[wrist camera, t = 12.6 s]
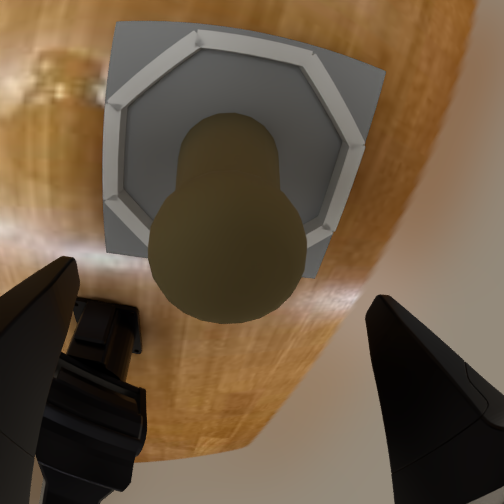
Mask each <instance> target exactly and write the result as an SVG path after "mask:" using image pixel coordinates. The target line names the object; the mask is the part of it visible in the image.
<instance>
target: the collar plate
mask: <svg viewBox="0 0 504 504" xmlns="http://www.w3.org/2000/svg"><path fill="white" fill-rule="evenodd" d="M385 74H386V71H384V70H381V69H379V68H377V67H374V66H372V65H369V64H367V63H364V62H361V61H359V60H356V59H353V58H350V57H348V56H345V55H342V54H339V53H336V52H333V51H330V50H327V49H323V48H320V47H317V46H313V45H310V44H306V43H303V42H299V41H295V40H291V39H287V38H283V37H279V36H274V35H270V34H265V33H260V32H255V31H249V30H243V29H237V28H231V27H224V26H216V25H207V24H197V23H185V22H167V21H120V22H116V27H115V32H114V38H113V44H112V50H111V56H110V63H109V71H108V79H107V88H106V99H105V111H104V128H103V158H102V183H103V214H104V230H105V243H106V253H113V254H121V255H128V256H135V257H142V258H148V242H149V234H150V227H151V225H152V223H153V220H154V218H155V216H156V215H157V213H158V211H159V209H160V208H161V206H162V204H163V202H164V201H165V199H166V198H167V197H168V196H169V195H170V194H172V193H173V192H174V191H175V187H176V175H177V164H178V156H179V151H180V147H181V143H182V141H183V140H184V138H185V136H186V135H187V133H188V132H189V130H190V129H191V128H192V127H194V126H195V125H196V124H197V123H198V122H200V121H201V120H202V119H204V118H207V117H210V116H212V115H215V114H218V113H238V114H242V115H245V116H249V117H252V118H253V119H255V120H256V121H258V122H259V123H261V124H262V125H264V126H265V128H266V129H267V130H268V131H269V133H270V134H271V135H272V137H273V138H274V141H275V144H276V147H277V150H278V155H279V173H280V190H281V191H282V192H283V193H284V194H285V195H286V196H287V198H288V199H289V200H290V202H291V203H292V204H293V206H294V207H295V208H296V210H297V211H298V213H299V215H300V218H301V220H302V223H303V227H304V231H305V234H306V238H307V254H306V263H305V271H304V273H303V275H302V277H305V278H314V279H315V277H316V274H317V272H318V269H319V267H320V265H321V262H322V260H323V257H324V255H325V252H326V250H327V247H328V245H329V242H330V239H331V237H332V234H333V232H334V231H336V228H337V225H338V223H339V220H340V218H341V215H342V212H343V210H344V207H345V204H346V201H347V199H348V196H349V193H350V190H351V188H352V185H353V182H354V179H355V176H356V173H357V170H358V168H359V165H360V162H361V159H362V156H363V153H364V150H365V147H366V146H364V144H365V141H366V138H367V135H368V132H369V129H370V125H371V122H372V119H373V116H374V112H375V109H376V106H377V102H378V99H379V95H380V92H381V88H382V85H383V81H384V78H385Z"/></svg>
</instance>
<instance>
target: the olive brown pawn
mask: <svg viewBox="0 0 504 504" xmlns="http://www.w3.org/2000/svg"><path fill="white" fill-rule="evenodd" d="M306 254H307V238H306V234H305V231H304V227H303V223H302V220H301V218H300V215H299V213H298V211H297V210H296V208H295V207H294V206H293V204H292V203H291V202H290V200H289V199H288V198H287V196H286V195H285V194H284V193H283V192H282V191H281V190H280V173H279V155H278V150H277V147H276V144H275V141H274V138H273V137H272V135H271V134H270V133H269V131H268V130H267V129H266V128H265V126H264V125H262V124H261V123H259V122H258V121H256V120H255V119H253V118H252V117H249V116H245V115H242V114H238V113H218V114H215V115H212V116H210V117H207V118H204V119H202V120H201V121H200V122H198V123H197V124H196V125H195V126H194V127H192V128H191V129H190V130H189V132H188V133H187V135H186V136H185V138H184V140H183V141H182V143H181V147H180V151H179V156H178V164H177V175H176V187H175V191H174V192H173V193H172V194H170V195H169V196H168V197H167V198H166V199H165V201H164V202H163V204H162V206H161V208H160V209H159V211H158V213H157V215H156V216H155V218H154V220H153V223H152V225H151V227H150V234H149V242H148V260H149V264H150V268H151V272H152V276H153V278H154V280H155V282H156V283H157V285H158V286H159V288H160V289H161V291H162V292H163V293H164V295H165V296H166V298H167V299H168V301H169V302H171V303H172V304H173V305H174V306H176V307H177V308H178V309H180V310H181V311H182V312H183V313H186V314H188V315H190V316H192V317H195V318H197V319H199V320H202V321H208V322H213V323H219V324H232V323H243V322H247V321H251V320H255V319H258V318H261V317H263V316H265V315H267V314H269V313H270V312H272V311H274V310H276V309H278V308H279V307H280V306H281V305H282V304H283V303H284V302H285V301H286V300H287V299H288V298H289V297H290V296H291V294H292V293H293V291H294V290H295V288H296V286H297V284H298V283H299V281H300V279H301V277H302V275H303V273H304V271H305V263H306Z"/></svg>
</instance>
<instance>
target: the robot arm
mask: <svg viewBox="0 0 504 504" xmlns="http://www.w3.org/2000/svg"><path fill="white" fill-rule="evenodd" d="M79 286H80V279H79V274H78V269H77V263H76V260H75V259H74V258H73V257H67V256H61V257H59V258H58V259H56V260H55V261H53V262H51V263H50V264H48V265H47V266H45V267H44V268H42V269H40V270H39V271H37V272H36V273H34V274H33V275H31V276H30V277H28V278H27V279H25V280H24V281H22V282H21V283H19V284H18V285H16V286H15V287H13V288H12V289H11V290H9V291H8V292H6V293H5V294H3V295H2V296H1V297H0V504H29V497H30V487H31V480H32V471H33V465H34V457H35V455H36V458H37V461H38V464H39V467H40V469H41V472H42V475H43V477H44V478H43V483H42V489H41V496H40V502H39V504H100V502H101V501H102V500H103V499H104V498H106V497H107V496H108V495H109V494H111V493H112V492H113V491H114V490H116V491H120V492H123V491H124V490H125V489H126V488H127V487H128V485H129V484H130V483H131V477H132V470H133V464H134V460H135V457H136V456H138V455H139V453H140V452H141V450H142V448H143V446H144V443H145V439H146V434H147V413H146V390H145V389H143V388H141V387H139V388H138V387H135V386H133V385H131V384H128V383H126V377H127V373H128V368H129V363H130V359H131V354H132V353H135V354H141V352H142V342H141V333H140V323H139V312H138V310H137V309H136V308H134V307H129V306H122V305H116V304H110V303H105V302H99V301H93V300H88V299H82V298H77V294H78V291H79ZM73 311H74V315H75V318H76V322H77V326H76V329H75V331H74V334H73V336H72V339H71V342H70V344H69V347H68V350H67V352H66V354H64V353H63V352H61V350H62V347H63V344H64V341H65V338H66V335H67V332H68V328H69V325H70V320H71V316H72V313H73ZM365 321H366V327H367V335H368V342H369V349H370V356H371V362H372V367H373V372H374V377H375V381H376V385H377V391H378V396H379V401H380V406H381V411H382V415H383V422H384V427H385V433H386V439H387V445H388V452H389V459H390V466H391V473H392V483H393V492H394V502H395V504H504V395H503V394H502V393H500V392H499V391H498V390H497V389H495V387H493V386H492V385H491V384H490V383H488V382H487V381H486V380H485V379H484V378H483V377H482V376H481V375H479V374H478V373H477V372H476V371H475V370H474V369H473V368H472V367H471V366H469V364H467V363H466V362H464V360H463V359H462V358H461V357H460V356H459V355H457V354H456V353H455V352H454V351H453V350H452V349H451V348H450V347H449V346H448V345H446V344H445V343H444V342H443V341H442V340H441V339H440V338H439V337H438V336H436V335H435V334H434V333H433V332H432V331H431V330H430V329H428V328H427V327H426V326H425V325H424V324H423V323H421V322H420V321H419V320H418V319H417V318H416V317H414V316H413V315H412V314H411V313H410V312H409V311H407V310H406V309H405V308H404V307H403V306H401V305H400V304H399V303H398V302H397V301H396V300H394V299H393V298H392V297H391V296H389V295H377V296H376V298H375V299H374V301H373V302H372V304H371V306H370V307H369V309H368V311H367V313H366V317H365Z"/></svg>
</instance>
